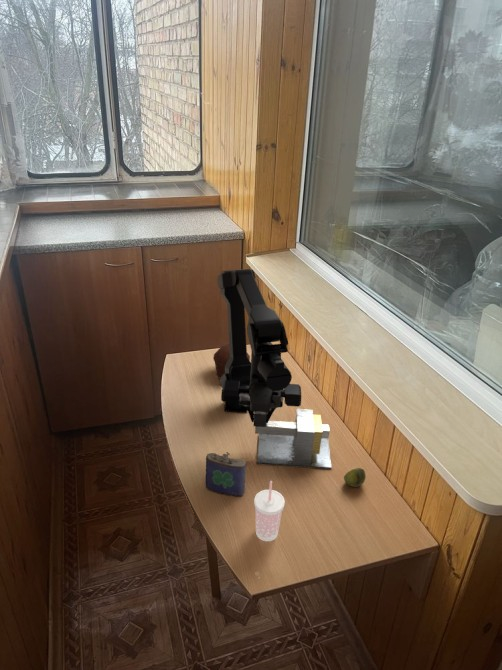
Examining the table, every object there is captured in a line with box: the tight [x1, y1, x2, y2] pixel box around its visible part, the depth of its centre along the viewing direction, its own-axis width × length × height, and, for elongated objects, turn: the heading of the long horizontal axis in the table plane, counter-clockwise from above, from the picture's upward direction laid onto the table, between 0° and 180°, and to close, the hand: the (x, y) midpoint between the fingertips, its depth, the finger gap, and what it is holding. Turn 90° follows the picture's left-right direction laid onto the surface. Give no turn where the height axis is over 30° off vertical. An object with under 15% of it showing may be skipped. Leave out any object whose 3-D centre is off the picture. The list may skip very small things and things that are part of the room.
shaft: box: [253, 411, 330, 440], centre depth 125 cm, size 18×3×6 cm, turn 87°
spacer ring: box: [312, 413, 322, 454], centre depth 126 cm, size 2×7×7 cm, turn 177°
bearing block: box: [256, 408, 332, 470], centre depth 127 cm, size 18×11×10 cm, turn 87°
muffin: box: [213, 343, 251, 381], centre depth 158 cm, size 12×11×10 cm
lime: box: [343, 467, 367, 488], centre depth 119 cm, size 4×5×5 cm
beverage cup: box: [253, 480, 286, 542], centre depth 103 cm, size 6×6×14 cm
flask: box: [204, 451, 247, 498], centre depth 114 cm, size 9×3×11 cm, turn 74°
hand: (259, 421), depth 125 cm, fingers open, 3 cm apart
